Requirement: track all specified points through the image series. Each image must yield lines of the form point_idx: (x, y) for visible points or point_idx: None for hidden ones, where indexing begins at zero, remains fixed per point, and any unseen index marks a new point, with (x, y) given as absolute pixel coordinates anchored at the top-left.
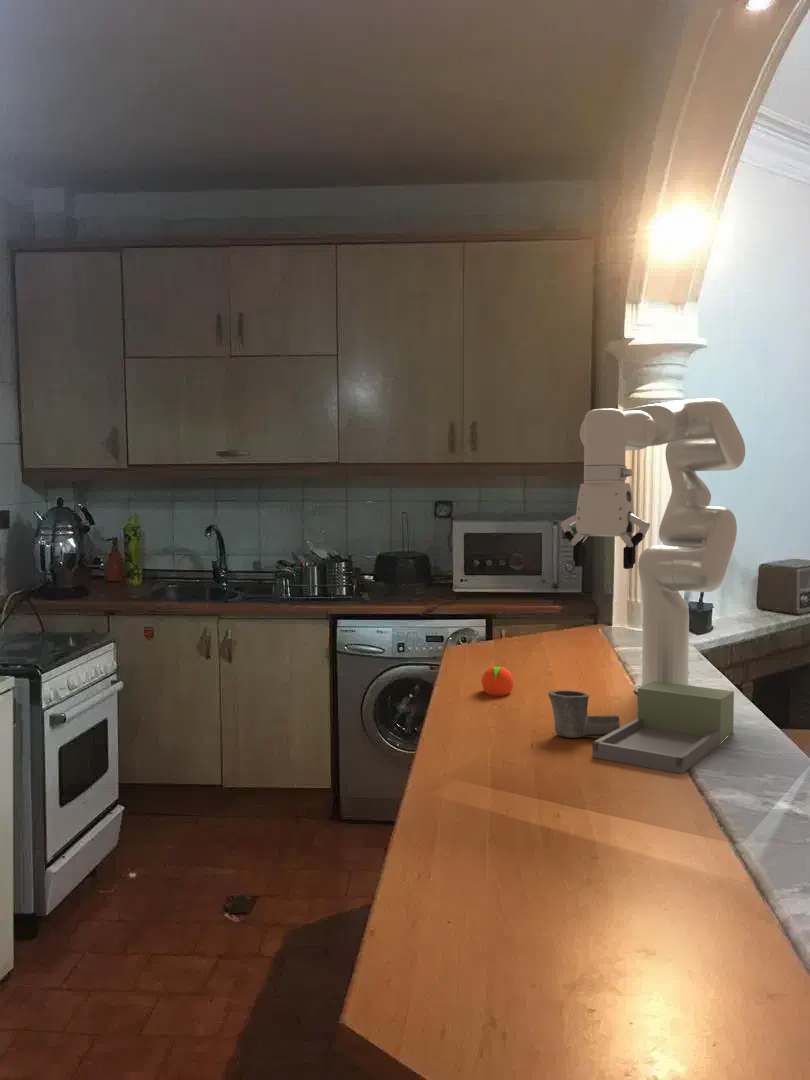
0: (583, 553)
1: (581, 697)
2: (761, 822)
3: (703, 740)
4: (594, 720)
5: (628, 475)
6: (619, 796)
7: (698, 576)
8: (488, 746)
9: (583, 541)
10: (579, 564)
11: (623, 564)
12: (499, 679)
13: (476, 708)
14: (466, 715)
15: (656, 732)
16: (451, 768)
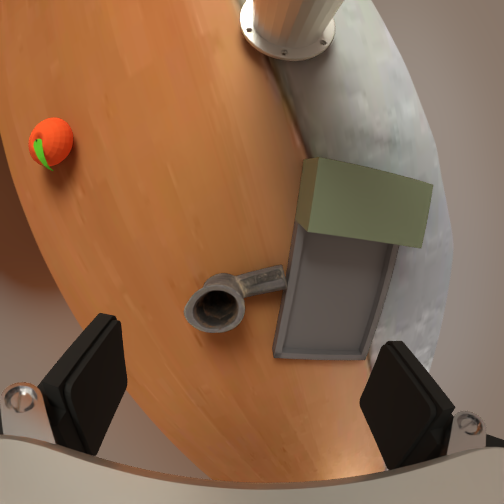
0: (96, 378)
1: (239, 322)
2: None
3: (384, 292)
4: (254, 294)
5: None
6: (316, 414)
7: None
8: (161, 359)
9: (49, 419)
10: (124, 380)
11: (364, 414)
12: (54, 159)
13: (65, 214)
14: (73, 255)
15: (325, 243)
16: (173, 416)
